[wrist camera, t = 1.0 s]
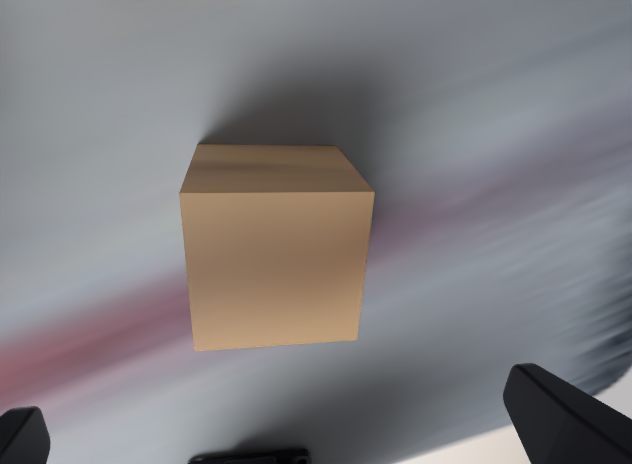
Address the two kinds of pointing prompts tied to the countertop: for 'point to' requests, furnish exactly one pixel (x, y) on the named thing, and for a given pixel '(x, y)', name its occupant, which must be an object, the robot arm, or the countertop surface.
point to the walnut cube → (274, 245)
